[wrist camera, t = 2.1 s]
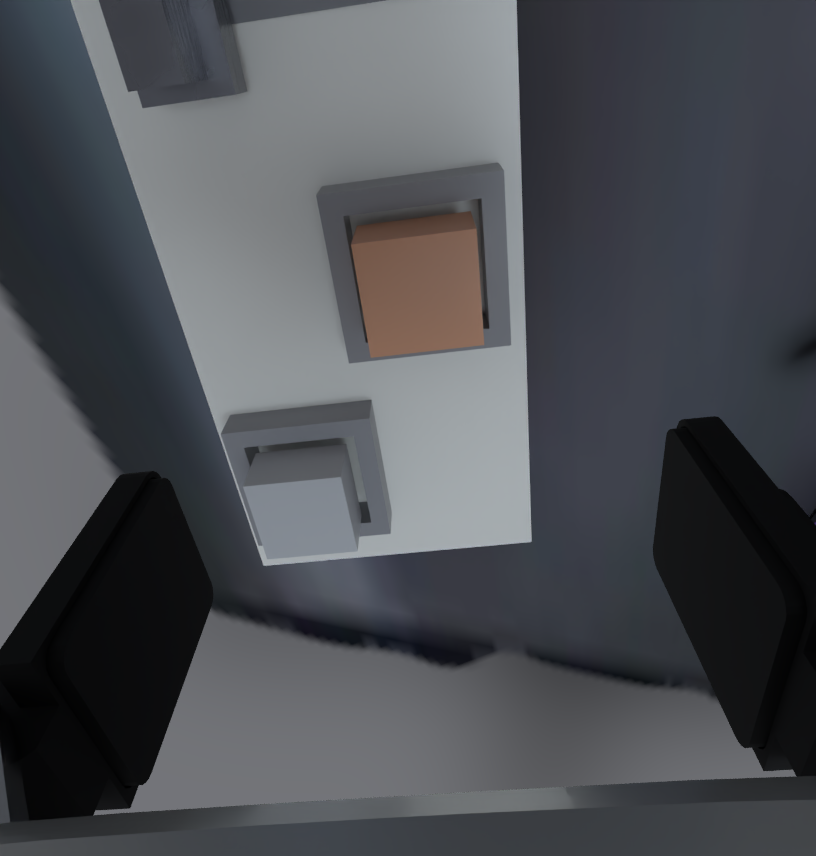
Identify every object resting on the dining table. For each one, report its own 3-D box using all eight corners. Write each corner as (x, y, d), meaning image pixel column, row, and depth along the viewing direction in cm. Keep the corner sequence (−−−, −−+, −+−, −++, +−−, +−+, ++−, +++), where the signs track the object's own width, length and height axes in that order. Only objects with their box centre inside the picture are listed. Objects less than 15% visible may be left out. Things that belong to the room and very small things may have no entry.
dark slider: (202, -104, 18) (152, -139, 14) (247, 91, 20) (214, 100, 17) (103, -87, 18) (30, -118, 15) (160, 104, 21) (110, 115, 17)
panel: (494, -284, 18) (516, -373, 14) (522, 504, 34) (536, 564, 30) (45, -200, 19) (-49, -263, 15) (274, 527, 35) (257, 588, 31)
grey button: (346, 443, 26) (340, 477, 24) (361, 515, 29) (357, 551, 27) (255, 453, 27) (242, 486, 25) (277, 523, 29) (267, 559, 27)
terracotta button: (470, 210, 21) (476, 228, 19) (478, 319, 23) (484, 344, 21) (356, 225, 22) (350, 244, 20) (374, 331, 24) (370, 357, 22)
